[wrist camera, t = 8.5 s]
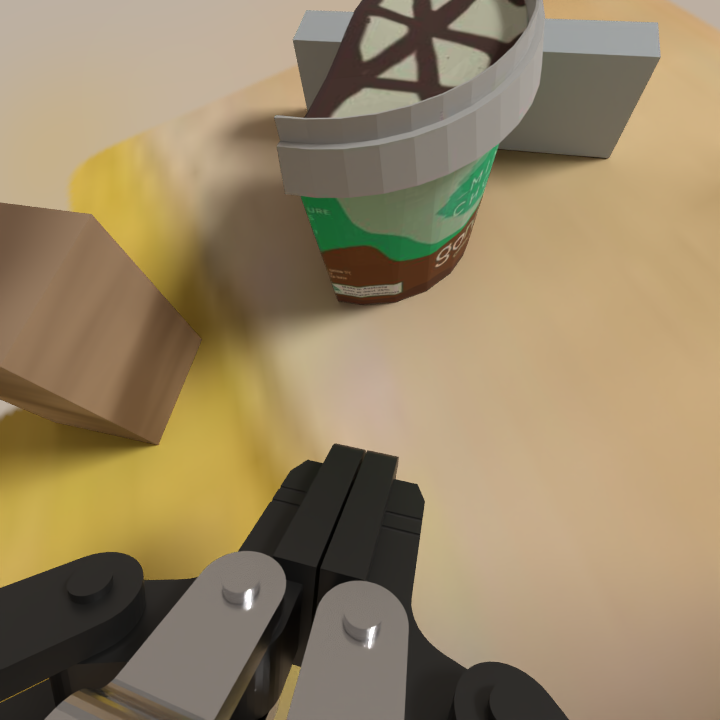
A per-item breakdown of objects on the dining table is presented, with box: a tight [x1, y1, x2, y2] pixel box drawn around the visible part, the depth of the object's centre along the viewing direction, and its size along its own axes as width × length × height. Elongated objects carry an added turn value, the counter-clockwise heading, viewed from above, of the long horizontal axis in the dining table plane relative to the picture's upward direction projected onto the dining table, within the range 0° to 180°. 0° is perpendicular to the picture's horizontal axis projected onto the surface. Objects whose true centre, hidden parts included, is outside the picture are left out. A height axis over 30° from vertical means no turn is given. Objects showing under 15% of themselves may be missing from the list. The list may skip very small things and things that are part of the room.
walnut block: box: [0, 203, 202, 445], centre depth 16 cm, size 5×5×8 cm
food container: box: [274, 0, 545, 305], centre depth 17 cm, size 12×6×10 cm, turn 162°
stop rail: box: [293, 10, 661, 158], centre depth 22 cm, size 16×2×5 cm, turn 77°
